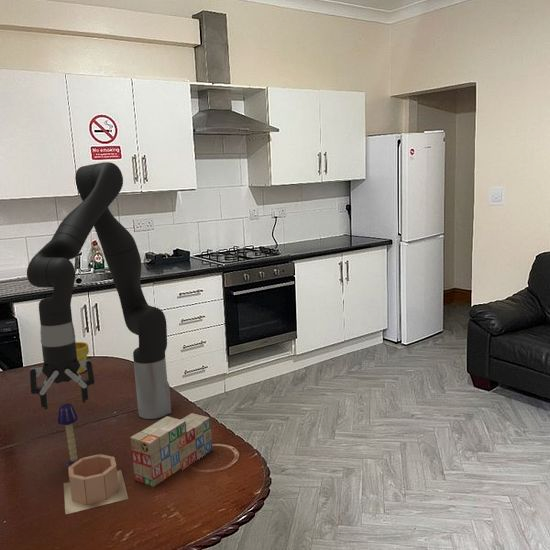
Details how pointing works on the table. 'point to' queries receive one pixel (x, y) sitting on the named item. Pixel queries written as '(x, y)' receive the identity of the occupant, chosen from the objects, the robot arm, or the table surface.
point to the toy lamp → (69, 428)
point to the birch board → (75, 507)
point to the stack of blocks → (169, 447)
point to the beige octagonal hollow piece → (93, 479)
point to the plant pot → (81, 353)
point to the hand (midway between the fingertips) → (65, 404)
